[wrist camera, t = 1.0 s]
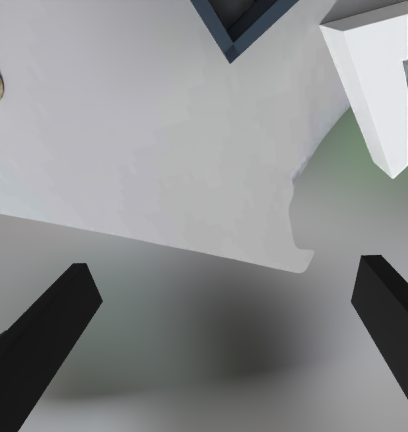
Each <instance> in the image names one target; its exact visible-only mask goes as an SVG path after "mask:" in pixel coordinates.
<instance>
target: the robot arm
mask: <svg viewBox="0 0 408 432" xmlns="http://www.w3.org/2000/svg"><path fill="white" fill-rule="evenodd" d="M102 302H103V301H102V298H101V296H100V294H99V291H98V289H97V287H96V285H95V282H94V280H93V278H92V275H91V273H90V271H89V269H88V266H87V264H86V263H73V264H72V265H71V266H70V267H69V268H68V269H67V270H66V271H65V272H64V273H63V274H62V275H61V276H60V277H59V278H58V279H57V280H56V281H55V282H54V283H53V284H52V285H51V286H50V287H49V288H48V290H46V291H45V292H44V293H43V294H42V295H41V296H40V297H39V298H38V300H37V301H35V302H34V303H33V304H32V306H31V307H30V308H29V309H28V310H27V311H26V312H25V313H24V314H23V315H22V316H21V317H20V318H19V319H18V320H17V321H16V322H15V323H14V324H13V325H12V326H11V327H10V328H9V329H8V330H6V331H4V332H3V333H1V334H0V432H18V431H19V429H20V428H21V426H22V425H23V423H24V422H25V420H26V418H27V417H28V415H29V414H30V412H31V411H32V409H33V408H34V406H35V405H36V403H37V402H38V400H39V399H40V397H41V396H42V394H43V392H44V391H45V389H46V388H47V386H48V385H49V383H50V382H51V380H52V378H53V377H54V375H55V374H56V372H57V371H58V369H59V368H60V366H61V365H62V363H63V362H64V360H65V359H66V357H67V356H68V354H69V353H70V351H71V350H72V348H73V346H74V345H75V343H76V342H77V340H78V339H79V337H80V335H81V334H82V332H83V331H84V330H85V328H86V327H87V325H88V323H89V322H90V320H91V319H92V317H93V316H94V314H95V313H96V311H97V310H98V308H99V307H100V305H101V303H102ZM351 303H352V305H353V306H354V308H355V310H356V311H357V313H358V315H359V317H360V318H361V320H362V322H363V323H364V325H365V327H366V328H367V330H368V332H369V334H370V335H371V337H372V339H373V340H374V342H375V344H376V346H377V347H378V349H379V350H380V353H381V354H382V356H383V357H384V359H385V361H386V363H387V364H388V366H389V368H390V370H391V371H392V373H393V375H394V377H395V378H396V380H397V382H398V383H399V385H400V387H401V389H402V390H403V392H404V394H405V395H406V397H407V399H408V283H407V282H406V281H405V280H404V279H403V277H402V276H401V275H400V274H399V273H397V271H396V270H395V269H394V268H393V267H392V266H391V265H390V264H389V263H388V262H387V261H386V260H385V259H384V258H383V257H382V255H366V256H363V255H362V256H361V259H360V263H359V268H358V272H357V277H356V281H355V286H354V290H353V295H352V299H351Z"/></svg>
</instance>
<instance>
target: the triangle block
mask: <svg viewBox="0 0 408 432" xmlns="http://www.w3.org/2000/svg"><path fill="white" fill-rule="evenodd" d="M319 26H320V28H321V31H322V33H323V36H324V38H325V41H326V43H327V46H328V49H329V51H330V54H331V56H332V59H333V61H334V64H335V66H336V69H337V71H338V74H339V76H340V79H341V81H342V84H343V87H344V89H345V92H346V94H347V97H348V99H349V102H350V104H351V107H352V109H353V112H354V114H355V117H356V119H357V122H358V125H359V127H360V130H361V132H362V134H363V137H364V140H365V142H366V145H367V147H368V150H369V152H370V155H371V157H372V160H373V162H374V163H375V164H377V165H378V166H379V167H380V168H381V169H382V170H383V171H384V172H385V173H387V174H388V175H389V176H390V177H391V178H392V179H393V178H395V177H396V176H397V175H398V174H399V173H400V172H401V171H402V170H403V169H405V168H406V167H407V166H408V87H407V82H406V77H405V72H404V67H403V62H402V61H404V60H408V1H405V2H401V3H397V4H394V5H390V6H387V7H383V8H379V9H376V10H372V11H368V12H365V13H361V14H357V15H354V16H350V17H347V18H343V19H339V20H336V21H332V22H328V23H325V24H321V25H319Z"/></svg>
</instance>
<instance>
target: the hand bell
mask: <svg viewBox="0 0 408 432" xmlns="http://www.w3.org/2000/svg"><path fill="white" fill-rule="evenodd" d="M2 95H3V83H2V80H1V77H0V99H1V98H2Z"/></svg>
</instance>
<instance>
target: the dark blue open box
mask: <svg viewBox="0 0 408 432" xmlns="http://www.w3.org/2000/svg"><path fill="white" fill-rule="evenodd" d="M190 1H191V2H192V4H193V6H194V7H195V9H196V10H197V12H198V14H199V15H200V17H201V18H202V20H203V22H204V23H205V25H206V26H207V28H208V30H209V31H210V33H211V35H212V36H213V38H214V39H215V41H216V43H217V44H218V46H219V47H220V49H221V51H222V52H223V54H224V55H225V57H226V59H227V60H228V62H229V63H230V64H231V63H232V62H233V61H234V60H235V59H236V58H237V57H238V56H239V55H240V54H241V53H243V52H244V51H245V50H246V49H247V48H248V47H249V46H250V45H251V44H252V43H253V42H254V41H255V40H257V39H258V38H259V37H260V36H261V35H262V34H263V33H264V32H265V31H266V30H267V29H268V28H270V27H271V26H272V25H273V24H274V23H275V22H276V21H277V20H278V19H279V18H280V17H281V16H282V15H284V14H285V13H286V12H287V11H288V10H289V9H290V8H291V7H292V6H293V5H294V4H295V3H297V2H298V1H299V0H257V1H256V2H255V3H254V4H253V5H252V6H251V7H250V8H249V9H248V10H247V11H246V12H245V13H244V14H243V15H242V16H241V17H240V18H239V19H238V20H237V21H236V22H235V23H234V24H233V25H232V26H231V27H230V28H229V29H228V30H227V31H226V29H225V27H224V26H223V24H222V22H221V21H220V19H219V17H218V15H217V14H216V12H215V10H214V8H213V7H212V5H211V3H210V1H209V0H190Z"/></svg>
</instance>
